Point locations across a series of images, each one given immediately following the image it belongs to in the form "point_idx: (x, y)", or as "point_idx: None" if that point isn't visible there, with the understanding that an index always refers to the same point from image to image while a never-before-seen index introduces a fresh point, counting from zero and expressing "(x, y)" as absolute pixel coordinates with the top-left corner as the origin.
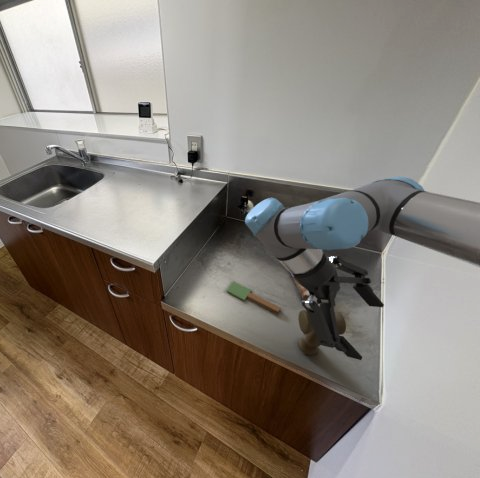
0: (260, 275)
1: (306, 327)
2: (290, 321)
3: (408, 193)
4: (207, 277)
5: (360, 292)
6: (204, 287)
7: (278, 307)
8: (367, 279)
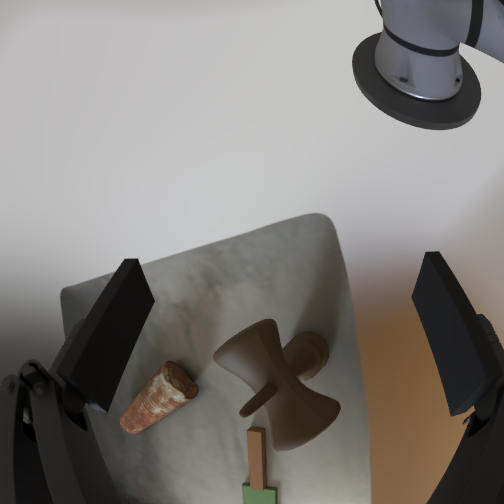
0: (192, 471)
1: (333, 421)
2: None
3: None
4: None
5: (113, 368)
6: None
7: (249, 434)
8: (28, 379)
